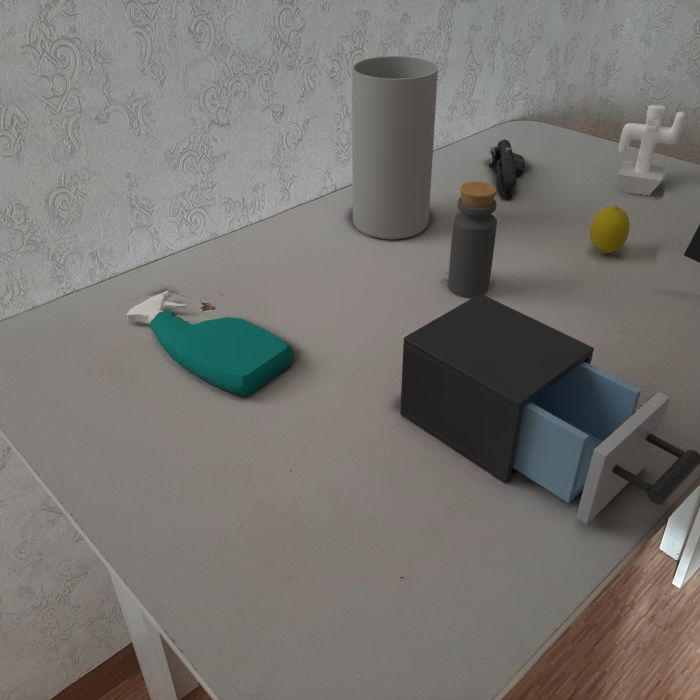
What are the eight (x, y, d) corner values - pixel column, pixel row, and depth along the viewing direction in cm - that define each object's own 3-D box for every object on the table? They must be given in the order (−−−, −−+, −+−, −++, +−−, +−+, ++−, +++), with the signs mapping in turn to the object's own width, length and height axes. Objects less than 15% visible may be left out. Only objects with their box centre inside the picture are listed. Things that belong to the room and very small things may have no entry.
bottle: (439, 282, 103) (447, 184, 94) (473, 273, 105) (483, 176, 97) (462, 301, 99) (473, 201, 90) (497, 291, 101) (510, 192, 92)
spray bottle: (238, 405, 82) (110, 331, 94) (303, 360, 88) (175, 297, 101) (235, 385, 80) (105, 312, 93) (301, 341, 87) (171, 279, 100)
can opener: (486, 162, 140) (489, 134, 136) (523, 164, 139) (527, 136, 136) (485, 200, 126) (489, 170, 122) (526, 203, 125) (530, 172, 121)
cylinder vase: (411, 247, 112) (419, 83, 97) (340, 232, 116) (337, 73, 102) (438, 215, 121) (449, 61, 106) (371, 202, 125) (373, 52, 111)
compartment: (696, 490, 70) (723, 422, 64) (636, 556, 63) (661, 488, 58) (536, 401, 80) (548, 337, 75) (472, 450, 74) (480, 384, 69)
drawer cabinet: (575, 425, 78) (594, 347, 72) (505, 484, 72) (519, 403, 65) (471, 367, 87) (480, 292, 81) (400, 414, 80) (403, 337, 74)
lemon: (584, 259, 108) (594, 211, 104) (586, 243, 113) (596, 195, 108) (622, 265, 107) (634, 216, 102) (623, 248, 111) (635, 200, 106)
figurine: (612, 178, 133) (630, 96, 124) (666, 186, 130) (688, 102, 121) (607, 193, 128) (625, 108, 119) (663, 201, 125) (686, 115, 116)
